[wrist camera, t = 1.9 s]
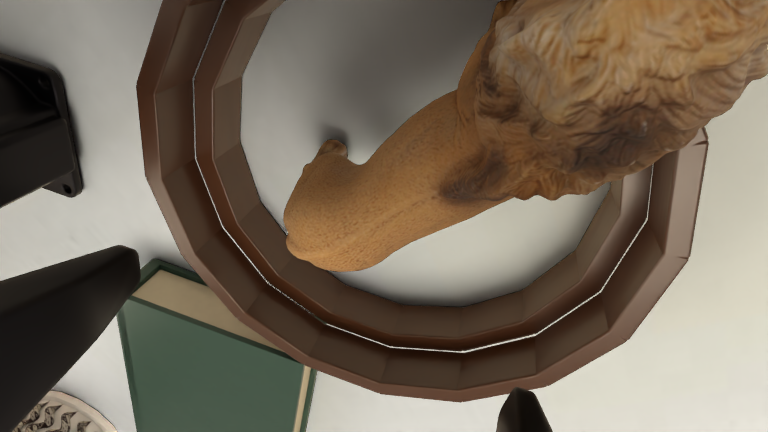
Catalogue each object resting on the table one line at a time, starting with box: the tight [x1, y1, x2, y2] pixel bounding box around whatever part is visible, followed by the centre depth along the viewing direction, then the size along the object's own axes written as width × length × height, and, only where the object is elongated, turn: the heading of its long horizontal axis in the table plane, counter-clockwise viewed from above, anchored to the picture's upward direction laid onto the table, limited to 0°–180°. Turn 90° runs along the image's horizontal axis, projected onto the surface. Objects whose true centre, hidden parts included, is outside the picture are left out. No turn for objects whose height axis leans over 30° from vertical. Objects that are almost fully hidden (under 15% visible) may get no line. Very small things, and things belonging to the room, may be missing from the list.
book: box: [116, 259, 327, 432], centre depth 27 cm, size 10×14×3 cm
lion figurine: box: [283, 0, 768, 272], centre depth 12 cm, size 15×5×9 cm, turn 138°
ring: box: [136, 0, 709, 402], centre depth 16 cm, size 17×17×4 cm
